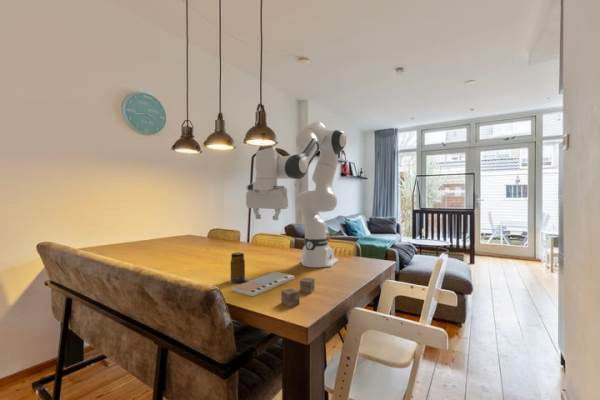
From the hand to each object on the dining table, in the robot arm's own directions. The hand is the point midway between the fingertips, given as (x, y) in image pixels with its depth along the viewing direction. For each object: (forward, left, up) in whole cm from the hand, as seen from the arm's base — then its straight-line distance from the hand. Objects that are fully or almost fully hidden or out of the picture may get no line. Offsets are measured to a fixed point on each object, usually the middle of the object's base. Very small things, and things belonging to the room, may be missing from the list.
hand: (266, 219), depth 118 cm
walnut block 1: (+11, +20, -27) cm, 36 cm away
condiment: (+3, -13, -27) cm, 30 cm away
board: (0, -1, -27) cm, 27 cm away
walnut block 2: (-3, +18, -27) cm, 33 cm away
